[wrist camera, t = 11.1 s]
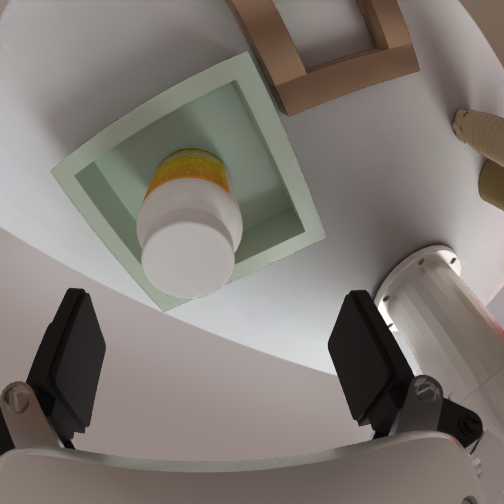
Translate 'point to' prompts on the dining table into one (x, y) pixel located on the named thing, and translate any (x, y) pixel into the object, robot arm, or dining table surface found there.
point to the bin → (207, 137)
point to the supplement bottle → (189, 224)
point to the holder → (332, 73)
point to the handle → (481, 133)
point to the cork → (492, 184)
